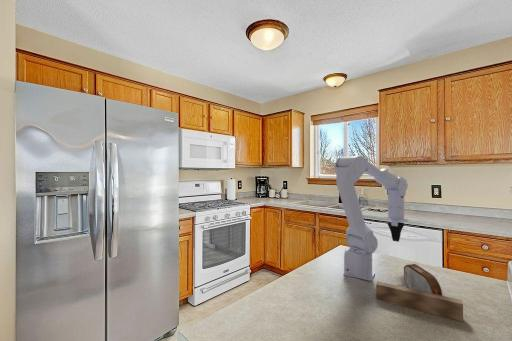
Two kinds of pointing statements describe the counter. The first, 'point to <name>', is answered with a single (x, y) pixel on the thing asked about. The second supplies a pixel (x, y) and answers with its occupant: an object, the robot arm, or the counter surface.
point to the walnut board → (420, 300)
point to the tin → (421, 279)
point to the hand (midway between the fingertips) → (395, 240)
